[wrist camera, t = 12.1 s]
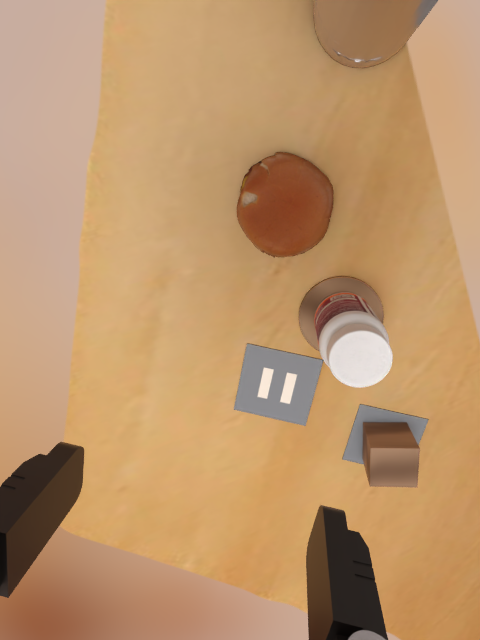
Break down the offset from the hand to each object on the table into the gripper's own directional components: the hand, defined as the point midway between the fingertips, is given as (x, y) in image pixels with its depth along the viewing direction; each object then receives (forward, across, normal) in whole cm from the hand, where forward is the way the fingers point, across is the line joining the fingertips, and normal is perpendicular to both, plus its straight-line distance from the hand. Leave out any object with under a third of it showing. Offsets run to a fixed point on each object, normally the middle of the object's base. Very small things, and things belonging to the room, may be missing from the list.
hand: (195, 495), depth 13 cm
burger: (+32, 0, -8) cm, 34 cm away
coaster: (+32, -9, +2) cm, 33 cm away
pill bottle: (+32, -9, +2) cm, 33 cm away
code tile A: (+32, -4, +12) cm, 34 cm away
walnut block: (+32, -18, +16) cm, 40 cm away
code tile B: (+32, -18, +16) cm, 40 cm away
